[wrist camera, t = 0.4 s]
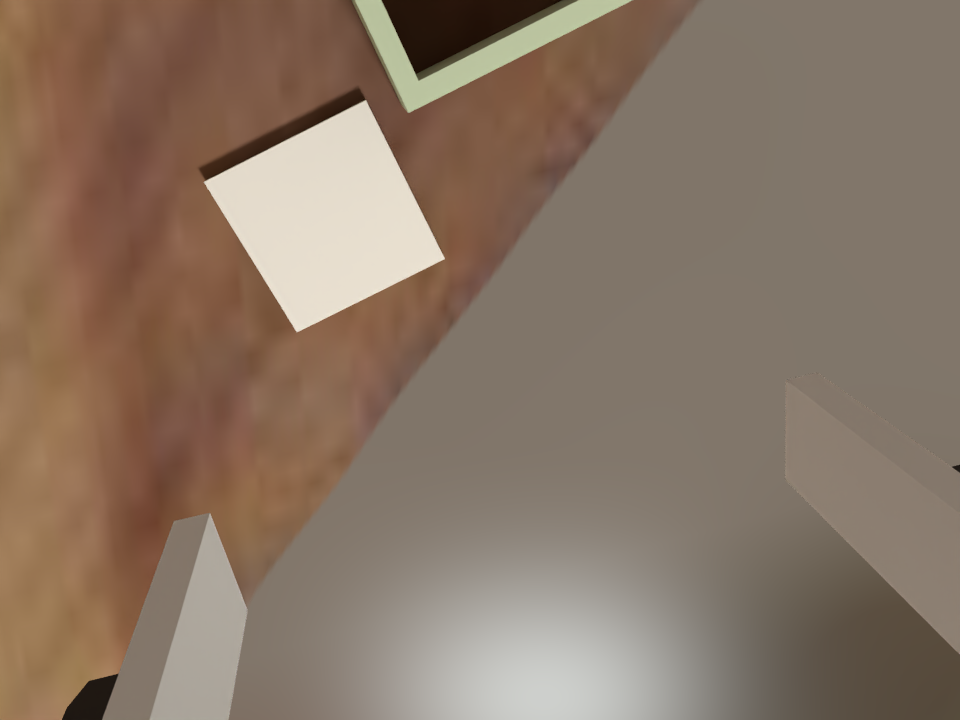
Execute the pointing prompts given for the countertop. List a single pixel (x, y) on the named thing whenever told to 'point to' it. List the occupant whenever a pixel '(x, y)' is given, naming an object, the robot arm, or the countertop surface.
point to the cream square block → (327, 216)
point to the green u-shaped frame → (416, 90)
